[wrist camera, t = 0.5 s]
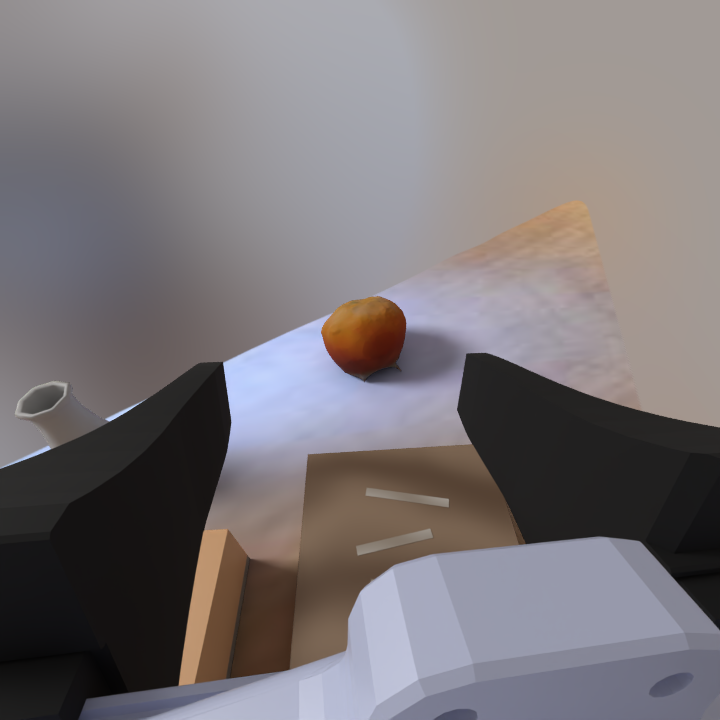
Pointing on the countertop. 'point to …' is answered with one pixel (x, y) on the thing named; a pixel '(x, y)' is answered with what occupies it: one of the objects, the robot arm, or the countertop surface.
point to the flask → (57, 413)
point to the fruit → (365, 335)
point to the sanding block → (214, 609)
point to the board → (384, 528)
